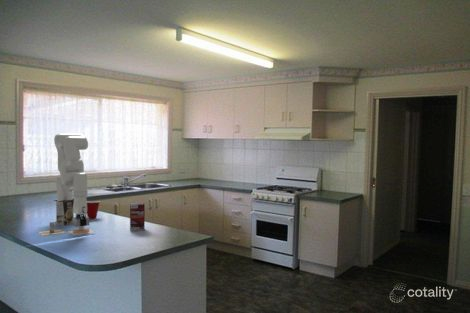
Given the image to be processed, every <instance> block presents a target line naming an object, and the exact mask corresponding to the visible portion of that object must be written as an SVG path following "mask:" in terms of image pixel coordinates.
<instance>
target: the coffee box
mask: <svg viewBox="0 0 470 313" xmlns="http://www.w3.org/2000/svg"><path fill="white" fill-rule="evenodd" d="M55 204H56V206H55V208H56V210H55V211H56V213H55V214H56V219H55V220H56V222H55V224H56V226H67V225H71V224H73V217H75V216H74V214H75V213H74V212H73V208H74V199H73V200H62V201H58V202H57V201H56V203H55Z"/></svg>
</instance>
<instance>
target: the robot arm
mask: <svg viewBox="0 0 470 313" xmlns="http://www.w3.org/2000/svg"><path fill="white" fill-rule="evenodd" d="M88 141H89V140H88V139H87V137H86V136H85V135H83V134H81V133H58V134H56V135H55V136H54V138H53V142H54V146H55V148H56V151H57V170H58V172H59V174H58V176H56V177H55V178H54V179H55V188H56V200H57V201H56V202H58V201H62V200H73V212H74V214H75V217H81V219H80V226H83V227H86V217H87V201H88V199H87V197H88V174H87V173H86V172H84V170H85V167H84V160H82V159H81V158H82V157H81V156H82V155H81V151H85V150H88V148H89V142H88ZM69 189H73V190H72V192H73V193H72V192H71V191H70V190H69ZM54 223H56V219H55V220H54Z"/></svg>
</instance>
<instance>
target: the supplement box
mask: <svg viewBox="0 0 470 313" xmlns="http://www.w3.org/2000/svg"><path fill="white" fill-rule="evenodd" d="M145 209H146V208H145V203H144V202H142V203H139V202H137V203H130V204H129V231H130V232H133V231H145V230H146V228H145V219H146V218H145V213H146V212H145Z"/></svg>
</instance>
